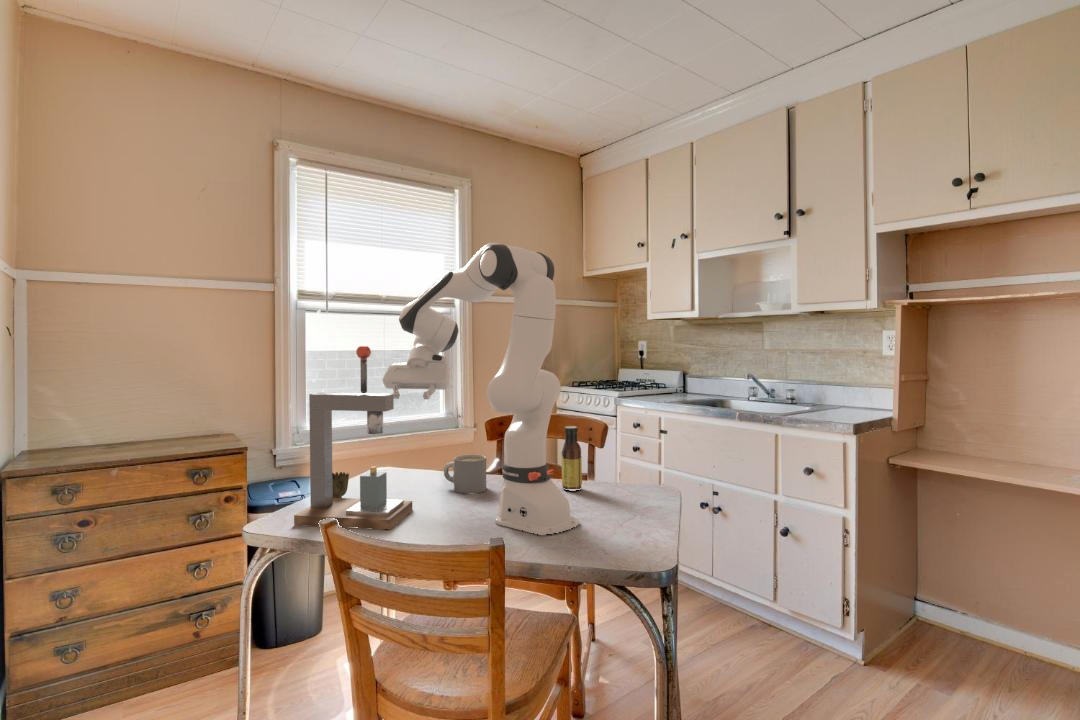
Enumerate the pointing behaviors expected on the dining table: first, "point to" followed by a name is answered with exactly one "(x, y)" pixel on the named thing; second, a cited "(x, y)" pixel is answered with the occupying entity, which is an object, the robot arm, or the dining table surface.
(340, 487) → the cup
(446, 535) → the dining table surface
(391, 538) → the dining table surface
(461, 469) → the coffee mug
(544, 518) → the robot arm
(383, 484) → the housing
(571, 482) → the sauce bottle
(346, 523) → the press base
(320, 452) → the press frame
